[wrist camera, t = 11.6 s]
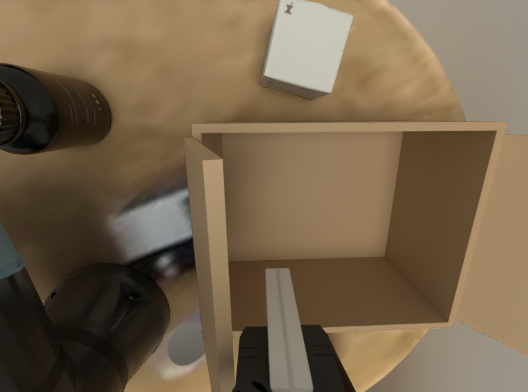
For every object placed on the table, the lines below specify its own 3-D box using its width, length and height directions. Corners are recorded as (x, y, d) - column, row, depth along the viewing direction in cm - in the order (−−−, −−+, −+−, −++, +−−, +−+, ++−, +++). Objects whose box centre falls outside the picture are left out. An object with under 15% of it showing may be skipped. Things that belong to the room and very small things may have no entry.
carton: (224, 263, 33) (209, 337, 22) (215, 122, 28) (191, 123, 17) (386, 258, 34) (453, 327, 23) (407, 120, 29) (507, 121, 18)
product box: (258, 86, 27) (261, 75, 20) (272, 24, 26) (280, -12, 19) (312, 101, 28) (332, 94, 21) (328, 40, 26) (356, 12, 19)
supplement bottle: (69, 153, 29) (-54, 176, 17) (34, 91, 27) (-132, 70, 15) (125, 133, 28) (37, 143, 17) (93, 69, 26) (-29, 30, 15)
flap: (209, 329, 22) (202, 331, 22) (192, 137, 17) (183, 138, 17) (240, 487, 12) (228, 493, 12) (222, 159, 8) (202, 160, 7)
